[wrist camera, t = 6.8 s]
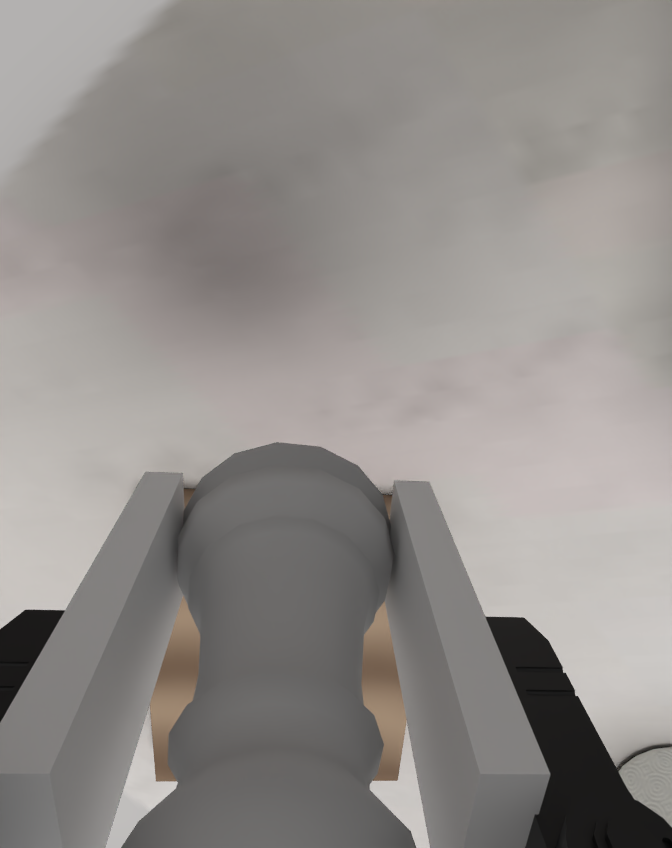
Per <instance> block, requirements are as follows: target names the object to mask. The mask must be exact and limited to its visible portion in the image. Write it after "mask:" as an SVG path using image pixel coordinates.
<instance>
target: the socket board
mask: <svg viewBox="0 0 672 848" xmlns="http://www.w3.org/2000/svg"><path fill="white" fill-rule="evenodd" d="M194 491H195V489H184V509H185V508H186V506H187V504H188V502H189V500H190V498H191V497H192V495H193V493H194ZM383 498H384V502H385V505H386V509H387V513H388V517H389V520H390V511H391V502H392V495H383ZM199 653H200V633H199V631H198V628H197V626H196V624H195V622H194V620H193V618H192V615H191V613H190V611H189V609H188V604H187V602H186V600H185V598H184V596H183V597H182V601H181V604H180V607H179V610H178V614H177V617H176V620H175V623H174V627H173V630H172V633H171V636H170V640H169V643H168V646H167V649H166V653H165V656H164V659H163V662H162V665H161V669H160V672H159V675H158V678H157V682H156V685H155V688H154V691H153V695H152V698H151V701H150V711H151V724H152V736H153V749H154V762H155V774H156V781H177V780H176V779H175V777H174V775H173V773H172V771H171V770H170V768H169V766H168V738H169V732H170V731H171V729H172V727H173V726H174V724H175V723H176V721H177V720H178V718H179V717H180V715H181V713H182V712H183V710H184V709H185V707H186V706H187V704H189V703H190V702H192V701H193V697H194V693H195V688H196V684H197V679H198V673H199ZM361 685H362V694H363V703H364V706H365V707H366V708H367V709H368V710H369V711H370V712H371V713H373V714H374V716H375V719H376V722H377V725H378V728H379V731H380V734H381V737H382V740H383V743H384V747H383V752H382V756H381V760H380V765H379V769H378V773H377V775H376V776H375V778H374V779H373V780H372V781H397V780H398V774H399V767H400V761H401V754H402V747H403V741H404V734H405V727H406V721H407V719H406V714H405V708H404V703H403V697H402V692H401V687H400V681H399V676H398V670H397V665H396V660H395V654H394V649H393V643H392V638H391V633H390V627H389V622H388V616H387V611H386V605H385V601H384V602H383V604H382V605H381V606H380V608H379V609H378V610H377V612H376V613H375V618H374V622H373V623H372V625H371V626H370V627H369V629H368V630H367V631H366V633H365V634H364V644H363V663H362V682H361Z"/></svg>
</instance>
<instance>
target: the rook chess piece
mask: <svg viewBox="0 0 672 848" xmlns="http://www.w3.org/2000/svg"><path fill="white" fill-rule="evenodd" d="M390 528H391V524H390V520H389V517H388V513H387V509H386V505H385V502H384V498H383V495H382V494H381V492H380V491H379V490H378V489H377V488H376V487H375V485H374V484H373V483H372V482H371V481H370V479H369V478H368V477H367V476H366V475H365V474H364V472H363V471H362V470H361V469H360V468H359V466H357V465H355V464H353V463H351V462H349V461H347V460H346V459H344V458H342V457H340V456H338V455H336V454H334V453H332V452H330V451H328V450H326V449H324V448H322V447H317V446H307V445H297V444H288V443H278V442H276V443H273V444H269V445H265V446H261V447H257V448H254V449H250V450H246V451H242V452H239V453H235V454H233V455H232V456H231V457H229V458H228V459H227V460H225V461H224V462H223V463H221V464H220V465H219V466H217V467H216V468H215V469H213V470H212V471H211V472H209V473H208V474H207V475H205V476H204V477H202V479H201V480H200V482H199V484H198V486H197V488H196V489H195V491H194V493H193V495H192V497H191V498H190V500H189V502H188V504H187V506H186V508H185V509H184V512H183V528H182V530H181V531H180V533H179V535H178V552H177V578H178V585H179V587H180V589H181V591H182V594H183V596H184V598H185V600H186V602H187V604H188V609H189V611H190V613H191V615H192V618H193V620H194V622H195V624H196V626H197V628H198V631H199V633H200V653H199V673H198V679H197V684H196V688H195V693H194V697H193V701H192V702H190V703H189V704H187V706H186V707H185V709H184V710H183V712H182V713H181V715H180V717H179V718H178V720H177V721H176V723H175V724H174V726H173V727H172V729H171V731H170V732H169V738H168V766H169V768H170V770H171V771H172V773H173V775H174V777H175V779H176V780H177V782H178V784H177V787H176V789H175V790H174V791H173V792H172V793H170V794H169V795H168V796H167V797H166V798H165V799H164V800H162V801H161V802H160V803H159V804H158V805H157V806H156V807H155V808H153V809H152V810H151V811H150V812H149V813H148V814H147V815H146V816H144V817H143V818H142V819H141V820H140V821H139V822H138V823H137V825H136V826H135V828H134V830H133V831H132V832H131V834H130V835H129V837H128V838H127V840H126V841H125V843H124V844H123V846H122V847H121V848H416V846H415V843H414V840H413V837H412V834H411V831H410V830H409V829H408V828H407V827H406V826H405V825H404V824H403V823H402V822H401V821H400V820H399V819H398V818H397V817H396V816H395V815H394V814H393V813H392V812H391V811H390V810H389V809H388V808H387V807H386V806H385V805H384V804H383V803H382V802H381V801H380V800H379V799H378V798H377V797H376V796H375V795H374V794H373V793H372V792H371V791H370V788H369V786H370V783H371V782H372V780H373V779H374V778H375V776H376V775H377V773H378V769H379V765H380V760H381V756H382V752H383V747H384V743H383V740H382V737H381V734H380V731H379V728H378V725H377V722H376V719H375V716H374V714H373V713H371V712H370V711H369V710H368V709H367V708H366V707H365V706H364V703H363V694H362V685H361V682H362V663H363V644H364V634H365V633H366V631H367V630H368V629H369V627H370V626H371V625H372V623H373V622H374V618H375V613H376V612H377V610H378V609H379V608H380V606H381V605H382V604H383V602H384V601H385V599H386V594H387V589H388V584H389V579H390V575H391V570H392V565H393V560H394V555H395V553H394V550H393V546H392V542H391V539H390Z"/></svg>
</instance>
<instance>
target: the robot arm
mask: <svg viewBox="0 0 672 848" xmlns="http://www.w3.org/2000/svg"><path fill="white" fill-rule="evenodd" d="M183 512H184V487H183V473H168V472H145V474H144V475H143V477H142V479H141V480H140V482H139V484H138V486H137V487H136V489H135V491H134V493H133V494H132V496H131V498H130V499H129V501H128V503H127V505H126V506H125V508H124V510H123V512H122V513H121V515H120V517H119V518H118V520H117V522H116V524H115V525H114V527H113V529H112V531H111V532H110V534H109V536H108V537H107V539H106V541H105V543H104V544H103V546H102V548H101V549H100V551H99V553H98V555H97V556H96V558H95V560H94V562H93V563H92V565H91V567H90V568H89V570H88V572H87V574H86V575H85V577H84V579H83V581H82V582H81V584H80V586H79V587H78V589H77V591H76V593H75V594H74V596H73V598H72V600H71V601H70V603H69V605H68V606H67V608H66V610H65V611H64V610H25V611H23V612H22V613H21V614H20V615H18V616H17V617H16V618H14V619H13V620H12V621H10V622H9V623H8V624H7V625H5V626H4V627H3V628H1V629H0V848H105V847H106V844H107V840H108V837H109V834H110V831H111V827H112V824H113V821H114V818H115V814H116V811H117V808H118V805H119V801H120V798H121V795H122V792H123V789H124V785H125V782H126V779H127V776H128V772H129V769H130V766H131V763H132V759H133V756H134V753H135V750H136V746H137V743H138V740H139V737H140V733H141V730H142V727H143V724H144V721H145V717H146V714H147V711H148V708H149V704H150V701H151V698H152V695H153V691H154V688H155V685H156V682H157V678H158V675H159V672H160V669H161V665H162V662H163V659H164V656H165V653H166V649H167V646H168V643H169V640H170V636H171V633H172V630H173V627H174V623H175V620H176V617H177V614H178V610H179V607H180V604H181V601H182V597H183V594H182V591H181V589H180V587H179V585H178V578H177V552H178V535H179V533H180V531H181V530H182V528H183ZM390 524H391V528H390V539H391V542H392V546H393V550H394V553H395V555H394V560H393V565H392V570H391V575H390V579H389V584H388V589H387V594H386V599H385V605H386V611H387V616H388V622H389V627H390V633H391V638H392V643H393V649H394V654H395V660H396V665H397V670H398V676H399V681H400V687H401V692H402V697H403V703H404V708H405V714H406V719H407V724H408V730H409V735H410V741H411V746H412V751H413V757H414V762H415V768H416V773H417V778H418V784H419V789H420V795H421V800H422V805H423V811H424V816H425V822H426V827H427V833H428V838H429V843H430V848H672V827H671V826H670V825H669V824H668V823H667V822H666V820H665V819H664V818H663V817H661V816H660V815H658V814H657V813H655V812H654V811H652V810H651V809H649V808H648V807H647V806H645V805H644V804H642V803H641V802H639V801H637V800H634V798H633V796H632V795H631V793H630V792H629V790H628V789H627V787H626V785H625V784H624V782H623V780H622V778H621V776H620V774H619V772H618V770H617V769H616V767H615V765H614V763H613V761H612V759H611V757H610V755H609V754H608V752H607V750H606V748H605V746H604V744H603V742H602V740H601V739H600V737H599V735H598V733H597V731H596V729H595V727H594V725H593V724H592V722H591V720H590V718H589V716H588V714H587V712H586V710H585V708H584V707H583V705H582V703H581V701H580V699H579V697H578V696H575V690H574V688H573V686H572V684H571V682H570V680H569V678H568V677H567V675H566V673H563V670H562V669H563V667H562V665H561V663H560V662H559V660H558V658H557V656H556V654H555V652H554V650H553V648H552V647H551V645H550V643H549V641H548V640H547V639H546V638H545V637H544V636H543V635H542V634H541V633H540V632H539V631H538V630H537V629H536V628H535V627H533V626H532V625H531V624H530V623H529V622H528V621H527V620H526V619H525V618H517V617H485V615H484V613H483V610H482V608H481V605H480V603H479V601H478V598H477V596H476V593H475V591H474V589H473V586H472V584H471V581H470V579H469V576H468V574H467V572H466V569H465V567H464V564H463V562H462V560H461V557H460V555H459V552H458V550H457V547H456V545H455V543H454V540H453V538H452V535H451V533H450V531H449V528H448V526H447V523H446V521H445V519H444V516H443V514H442V511H441V509H440V506H439V504H438V502H437V499H436V497H435V494H434V492H433V490H432V487H431V485H430V482H420V481H394V485H393V493H392V502H391V511H390Z"/></svg>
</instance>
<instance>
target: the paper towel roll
mask: <svg viewBox="0 0 672 848" xmlns="http://www.w3.org/2000/svg"><path fill="white" fill-rule="evenodd" d="M619 774H620V776H621V778H622V780H623V782H624V784H625V785H626V787H627V789H628V790H629V792H630V793H631V795H632V796H633V798H634V800H637V801H639V802H641V803H642V804H644V805H645V806H647V807H648V808H649V809H651V810H652V811H654V812H655V813H657V814H658V815H660V816H661V817H663V818H664V819H665V820H666V822H667V823H668V824H669V825H670V826H671V827H672V747H668V748H659V749H652V750H650V751H647V752H645V753H642V754H640V755H637V756H635V757H634V758H633V759H631V760H630V761H629V762H627V763H626V764H625V765H623V766H622V767H621V769H620V770H619Z"/></svg>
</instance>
